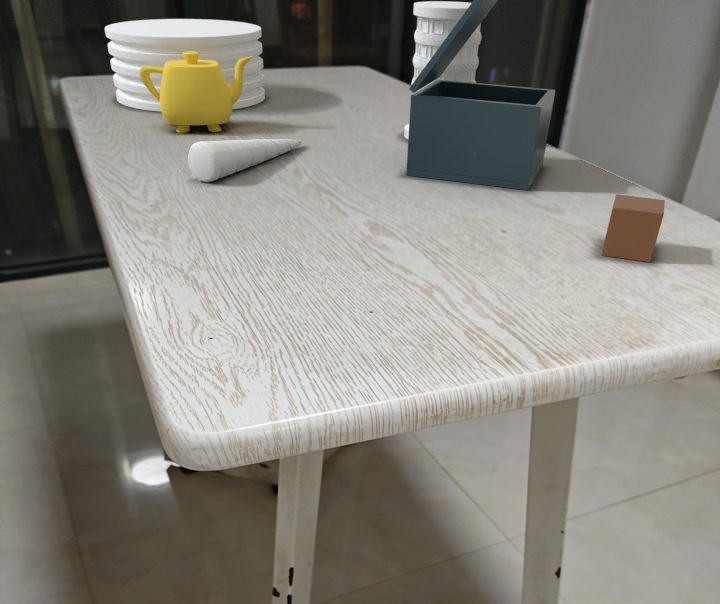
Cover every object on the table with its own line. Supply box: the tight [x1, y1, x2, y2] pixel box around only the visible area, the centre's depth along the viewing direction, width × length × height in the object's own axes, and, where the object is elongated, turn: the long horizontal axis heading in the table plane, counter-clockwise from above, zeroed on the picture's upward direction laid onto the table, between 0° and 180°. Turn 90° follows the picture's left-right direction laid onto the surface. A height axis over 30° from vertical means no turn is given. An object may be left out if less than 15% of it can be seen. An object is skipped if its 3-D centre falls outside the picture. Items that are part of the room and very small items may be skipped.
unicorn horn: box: [187, 138, 303, 183], centre depth 99 cm, size 5×24×5 cm, turn 147°
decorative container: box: [403, 0, 483, 140], centre depth 109 cm, size 12×12×18 cm
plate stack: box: [104, 18, 266, 113], centre depth 132 cm, size 28×28×12 cm
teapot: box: [139, 51, 253, 133], centre depth 114 cm, size 18×11×11 cm, turn 101°
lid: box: [408, 0, 499, 94], centre depth 89 cm, size 18×13×6 cm
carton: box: [600, 193, 666, 263], centre depth 75 cm, size 5×5×5 cm
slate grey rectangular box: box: [405, 80, 556, 191], centre depth 97 cm, size 17×13×10 cm
